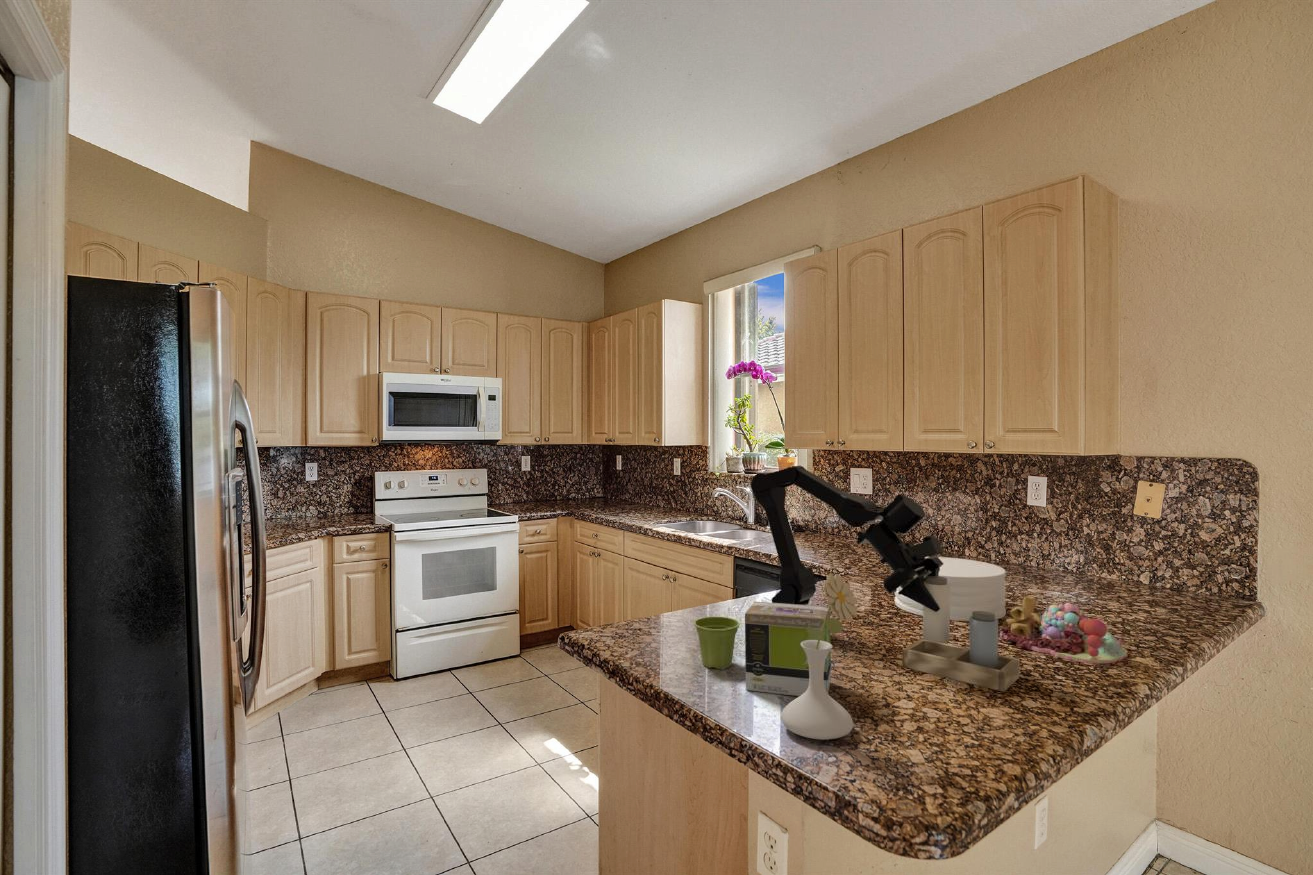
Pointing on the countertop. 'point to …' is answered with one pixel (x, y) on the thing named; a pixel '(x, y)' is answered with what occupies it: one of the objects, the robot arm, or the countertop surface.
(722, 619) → the plant pot
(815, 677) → the flower in vase
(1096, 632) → the multicoloured low bumpy piece
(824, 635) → the tea box
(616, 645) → the countertop surface
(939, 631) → the cylinder
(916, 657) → the beech slot rack
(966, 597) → the plate stack
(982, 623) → the blue shaker
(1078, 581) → the countertop surface
